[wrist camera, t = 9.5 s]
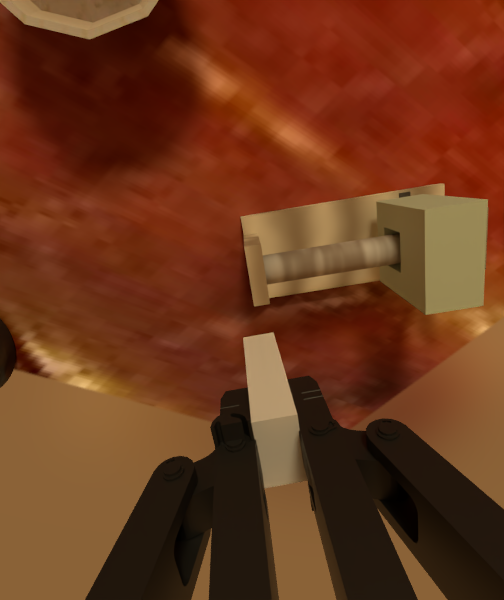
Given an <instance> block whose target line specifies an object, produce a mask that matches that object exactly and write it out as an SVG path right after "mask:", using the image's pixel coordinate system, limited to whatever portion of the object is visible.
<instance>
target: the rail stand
mask: <svg viewBox="0 0 504 600" xmlns="http://www.w3.org/2000/svg"><path fill="white" fill-rule="evenodd" d="M419 194H429V195H440V196H444V184H434V185H428V186H422V187H416V188H410V189H404V190H398V191H392V192H386V193H380V194H374V195H368V196H362V197H355V198H349V199H343V200H337V201H331V202H325V203H319V204H313V205H307V206H301V207H295V208H289V209H283V210H277V211H271V212H265V213H259V214H253V215H247V216H241V222H242V228H243V234H244V249H245V255H246V261H247V267H248V273H249V279H250V285H251V291H252V297H253V303H254V306H260V305H267V304H270V300H269V298H273V297H280V296H286V295H292V294H298V293H304V292H311V291H317V290H323V289H329V288H336V287H342V286H348V285H354V284H361V283H367V282H373V281H379V280H380V266H386V265H392V264H398V263H401V255H400V233H397V234H391V235H385V236H379V237H378V226H377V206H376V202H377V201H383V200H389V199H395V198H401V197H407V196H413V195H419ZM487 228H488V209H487ZM486 250H487V232H486ZM485 269H486V255H485Z"/></svg>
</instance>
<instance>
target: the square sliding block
mask: <svg viewBox="0 0 504 600" xmlns="http://www.w3.org/2000/svg"><path fill="white" fill-rule="evenodd" d="M376 206H377V226H378V237H379V236H385V235H391V234H397V233H400V255H401V263H398V264H392V265H386V266H380V281H381V282H382V283H383V284H385V285H386V286H387V287H389V288H390V289H391V290H393V291H394V292H396V293H397V294H398V295H400V296H401V297H402V298H404V299H405V300H406V301H408V302H409V303H410V304H412V305H413V306H414V307H416V308H417V309H418V310H420V311H421V312H423V313H424V314H425V315H428V314H434V313H441V312H447V311H453V310H460V309H466V308H472V307H479V306H483V300H484V278H485V255H486V232H487V209H488V200H486V199H475V198H463V197H452V196H440V195H429V194H419V195H413V196H407V197H401V198H395V199H389V200H383V201H377V202H376Z"/></svg>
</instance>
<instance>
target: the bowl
mask: <svg viewBox="0 0 504 600" xmlns="http://www.w3.org/2000/svg"><path fill="white" fill-rule="evenodd" d="M157 2H158V0H0V3H1V4H3V5H4V6H5V7H6V8H7V9H8V10H9V11H11V12H12V13H13V14H14V15H15V16H16V17H17V18H18V19H20V20H21V21H22V22H23V23H24V24H26V25H30V26H35V27H39V28H43V29H47V30H52V31H56V32H60V33H64V34H69V35H73V36H77V37H81V38H86V39H92V38H95V37H97V36H100V35H102V34H105V33H107V32H110V31H112V30H115V29H117V28H120V27H122V26H125V25H127V24H130V23H132V22H135V21H137V20H140V19H142V18H145V17H147V16H148V15H149V14H150V12H151V11H152V9H153V8H154V6H155V5H156V3H157Z"/></svg>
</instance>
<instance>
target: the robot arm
mask: <svg viewBox="0 0 504 600" xmlns="http://www.w3.org/2000/svg"><path fill="white" fill-rule="evenodd" d="M243 341H244V351H245V362H246V372H247V383H248V388H242V389H237V390H231V391H226V392H225V394H224V395H223V397H222V398H221V407H220V408H221V409H220V416H218V417H217V418H216V419H215V420H214V421H213V422H212V425H211V427H210V428H211V432H212V436H213V440H214V444H215V450H214V451H213V452H212V453H211V454H210V455H209V456H207V457H205V458H203V459H201V460H199V461H197V462H194V463H193V461H192V460H191V459H189V458H188V457H184V456H178V457H172V458H170V459H168V460H166V461H164V462H163V463H161V464H160V465H159V466H158V467H157V468H156V470H155V471H154V472H153V474H152V476H151V478H150V480H149V482H148V483H147V485H146V487H145V489H144V491H143V493H142V495H141V497H140V498H139V500H138V502H137V504H136V506H135V508H134V510H133V512H132V513H131V515H130V517H129V519H128V521H127V523H126V524H125V526H124V529H123V530H122V532H121V534H120V536H119V538H118V539H117V541H116V543H115V545H114V547H113V549H112V551H111V552H110V554H109V556H108V558H107V560H106V562H105V564H104V565H103V567H102V569H101V571H100V573H99V575H98V577H97V578H96V580H95V582H94V584H93V586H92V588H91V590H90V592H89V593H88V595H87V597H86V599H85V600H191V598H192V594H193V591H194V588H195V584H196V581H197V578H198V574H199V571H200V567H201V564H202V561H203V557H204V554H205V550H206V547H207V544H208V540H209V537H210V531H211V528H212V540H211V562H210V585H209V587H210V588H209V600H279V597H278V589H277V581H276V573H275V564H274V556H273V548H272V540H271V532H270V524H269V516H268V507H267V500H266V495H265V490H264V488H268V487H274V486H279V485H285V484H291V483H296V482H302V481H307V480H308V486H309V493H310V499H311V507H312V511H314V512H315V516H316V520H317V525H318V528H319V532H320V536H321V540H322V544H323V548H324V552H325V556H326V560H327V564H328V567H329V572H330V576H331V580H332V584H333V587H334V591H335V595H336V599H337V600H418V599H417V597H416V594H415V592H414V590H413V588H412V585H411V583H410V581H409V579H408V576H407V574H406V572H405V570H404V568H403V565H402V563H401V561H400V559H399V556H398V554H397V552H396V550H395V547H394V545H393V543H392V541H391V538H390V536H389V534H388V532H387V529H386V527H385V525H384V523H383V521H382V518H381V516H380V514H379V512H378V509H379V511H380V512H381V513H382V515H383V516H384V517H385V519H386V520H387V521H388V523H389V524H390V525H391V526H392V528H393V529H394V530H395V532H396V533H397V534H398V536H399V537H400V538H401V539H402V541H403V542H404V543H405V545H406V546H407V547H408V549H409V550H410V551H411V552H412V554H413V555H414V556H415V558H416V559H417V560H418V562H419V563H420V564H421V565H422V567H423V568H424V569H425V571H426V572H427V573H428V575H429V576H430V577H431V578H432V580H433V581H434V582H435V584H436V585H437V586H438V587H439V589H440V590H441V591H442V593H443V594H444V595H445V597H446V598H447V599H448V600H504V509H503V508H501V507H500V506H499V505H498V504H497V503H496V502H494V501H493V500H492V499H491V498H490V497H489V496H487V495H486V494H485V493H484V492H483V491H482V490H480V489H479V488H478V487H477V486H476V485H475V484H473V483H472V482H471V481H470V480H469V479H468V478H466V477H465V476H464V475H463V474H462V473H461V472H459V471H458V470H457V469H456V468H455V467H454V466H453V465H451V464H450V463H449V462H448V461H447V460H445V459H444V458H443V457H442V456H441V455H440V454H439V453H437V452H436V451H435V450H434V449H433V448H431V447H430V446H429V445H428V444H427V443H426V442H424V441H423V440H422V439H421V438H420V437H419V436H418V435H416V434H415V433H414V432H413V431H412V430H411V429H409V428H408V427H407V426H406V425H404V424H403V423H401V422H399V421H396V420H393V419H379V420H375V421H373V422H371V423H370V424H369V425H368V426H367V428H366V431H356V430H349V429H346V428H343V427H341V426H340V425H339V423H338V422H337V421H336V420H334V419H333V418H332V416H331V413H330V411H329V409H328V407H327V404H326V402H325V400H324V397H323V395H322V393H321V390H320V388H319V386H318V384H317V381H315V380H314V379H313V378H311V377H310V376H305V377H299V378H294V379H288V380H287V377H286V374H285V370H284V367H283V363H282V360H281V356H280V353H279V350H278V346H277V343H276V339H275V336H274V333H273V332H272V333H267V334H261V335H255V336H250V337H244V338H243ZM15 357H16V356H15V346H14V342H13V339H12V337H11V334H10V332H9V330H8V329H7V327H6V325H5V324H4V323H3V321H2V320H1V319H0V387H2V386H3V385H4V384H5V383H6V381H7V380H8V379H9V377H10V376H11V374H12V372H13V369H14V365H15ZM377 508H378V509H377Z"/></svg>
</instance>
